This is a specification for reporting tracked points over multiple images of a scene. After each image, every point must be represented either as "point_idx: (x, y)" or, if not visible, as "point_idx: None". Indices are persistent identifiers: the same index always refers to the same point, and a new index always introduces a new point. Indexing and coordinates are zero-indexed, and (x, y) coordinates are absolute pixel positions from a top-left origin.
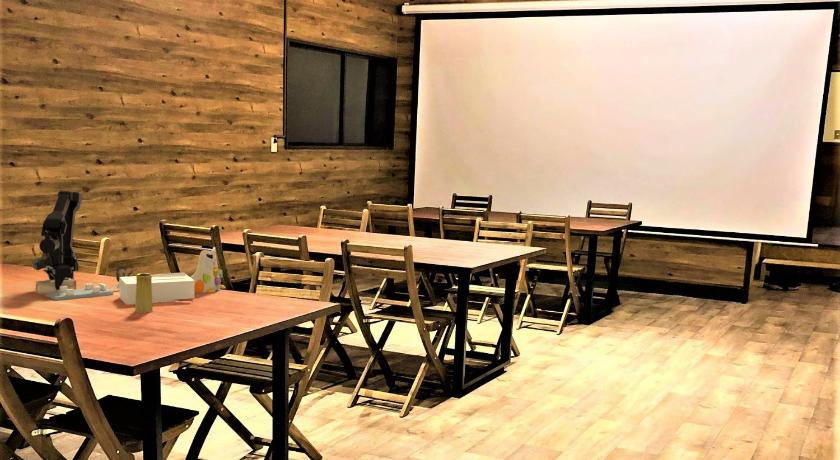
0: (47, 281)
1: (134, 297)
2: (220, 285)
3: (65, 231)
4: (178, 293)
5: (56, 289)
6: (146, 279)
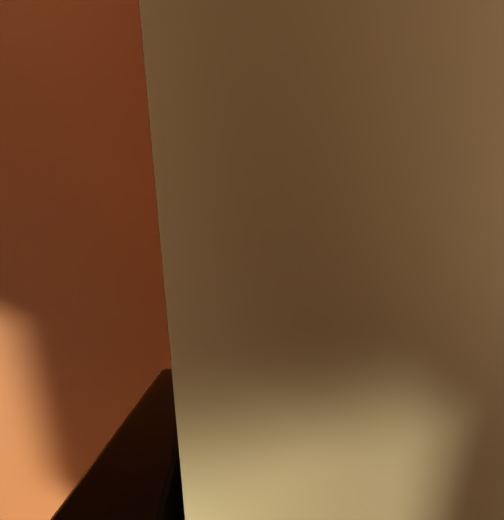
0: (351, 315)
1: None
2: None
3: None
4: None
5: (161, 376)
6: None
